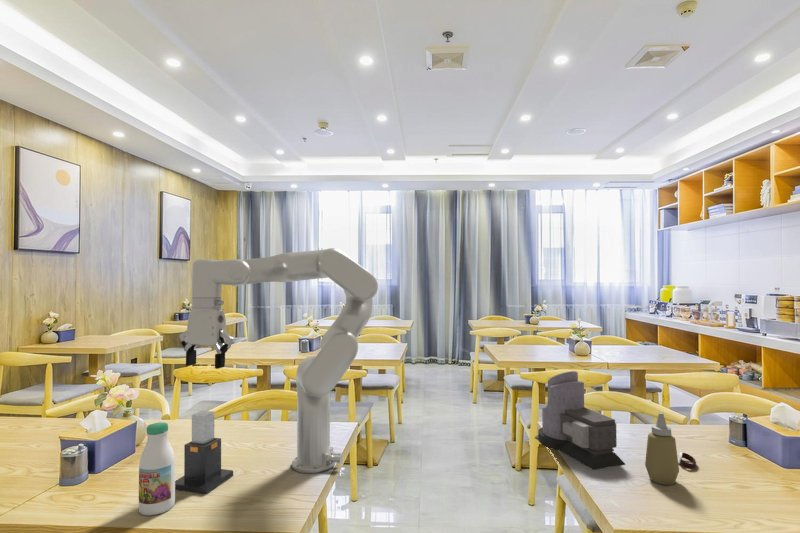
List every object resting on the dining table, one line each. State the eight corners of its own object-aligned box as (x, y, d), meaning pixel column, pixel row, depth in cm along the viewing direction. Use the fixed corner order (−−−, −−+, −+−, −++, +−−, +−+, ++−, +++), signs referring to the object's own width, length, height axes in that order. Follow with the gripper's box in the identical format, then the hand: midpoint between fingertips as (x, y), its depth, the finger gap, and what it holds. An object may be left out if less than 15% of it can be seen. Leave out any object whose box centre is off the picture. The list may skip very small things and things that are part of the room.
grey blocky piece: (526, 435, 157) (525, 364, 157) (565, 430, 162) (564, 361, 162) (587, 471, 128) (586, 384, 129) (631, 463, 133) (630, 380, 134)
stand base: (233, 475, 126) (233, 436, 126) (206, 494, 116) (206, 451, 116) (199, 471, 129) (199, 432, 129) (170, 489, 118) (171, 447, 119)
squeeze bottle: (667, 490, 117) (666, 420, 117) (638, 477, 124) (637, 411, 124) (686, 483, 120) (685, 415, 121) (656, 471, 128) (656, 407, 128)
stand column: (214, 473, 124) (214, 411, 124) (204, 480, 120) (204, 416, 120) (201, 472, 125) (201, 410, 125) (191, 478, 121) (191, 415, 121)
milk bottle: (147, 500, 113) (148, 420, 113) (180, 499, 113) (180, 419, 113) (132, 517, 105) (132, 430, 105) (166, 515, 105) (167, 429, 106)
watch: (677, 459, 137) (677, 447, 137) (695, 462, 134) (695, 450, 134) (677, 468, 130) (677, 455, 130) (697, 472, 128) (696, 459, 128)
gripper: (241, 304, 125) (240, 366, 125) (191, 302, 131) (190, 361, 130) (223, 305, 118) (221, 371, 118) (170, 303, 124) (169, 366, 123)
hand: (205, 366), depth 124 cm, fingers open, 9 cm apart
